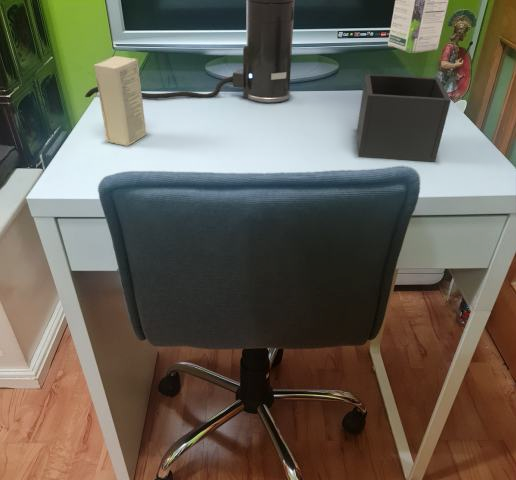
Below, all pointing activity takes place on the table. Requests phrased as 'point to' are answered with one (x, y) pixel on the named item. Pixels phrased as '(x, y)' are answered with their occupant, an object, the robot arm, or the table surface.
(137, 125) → the cosmetic box
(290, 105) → the table surface
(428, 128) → the waste bin
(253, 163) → the table surface
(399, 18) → the syrup box
